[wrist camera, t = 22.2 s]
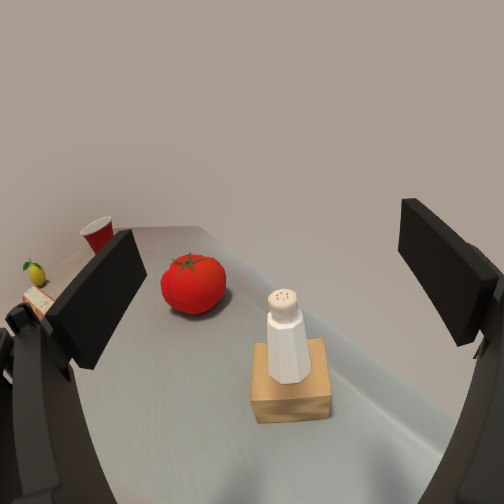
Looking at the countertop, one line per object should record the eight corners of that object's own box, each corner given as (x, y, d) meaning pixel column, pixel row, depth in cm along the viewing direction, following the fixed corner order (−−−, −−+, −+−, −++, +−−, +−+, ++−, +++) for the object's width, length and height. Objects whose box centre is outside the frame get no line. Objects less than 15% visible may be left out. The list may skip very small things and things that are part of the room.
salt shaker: (318, 355, 33) (318, 283, 28) (303, 390, 29) (300, 320, 23) (277, 347, 35) (267, 276, 30) (259, 379, 31) (243, 309, 26)
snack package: (78, 326, 53) (64, 301, 50) (58, 343, 48) (42, 319, 45) (46, 302, 63) (36, 281, 60) (30, 315, 58) (18, 294, 55)
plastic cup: (94, 257, 84) (82, 224, 78) (123, 246, 87) (112, 213, 81) (91, 272, 75) (76, 236, 69) (124, 260, 78) (110, 223, 72)
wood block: (322, 365, 38) (323, 337, 35) (328, 418, 30) (331, 394, 28) (260, 370, 39) (254, 343, 36) (257, 423, 32) (249, 400, 29)
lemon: (32, 288, 71) (19, 262, 67) (44, 279, 76) (32, 252, 71) (38, 292, 68) (24, 264, 64) (51, 282, 73) (38, 255, 68)
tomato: (167, 298, 59) (151, 256, 54) (223, 281, 61) (213, 238, 57) (173, 332, 49) (153, 286, 44) (239, 311, 52) (228, 263, 47)
